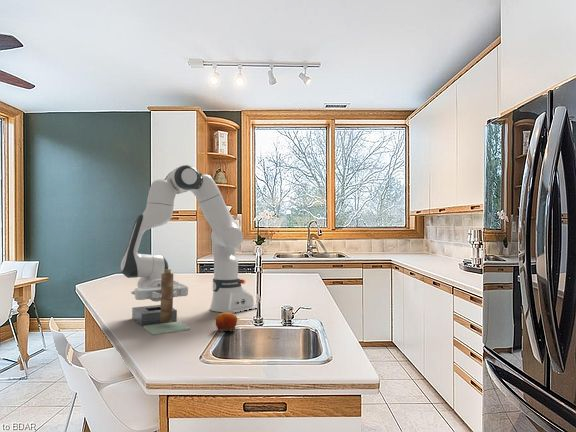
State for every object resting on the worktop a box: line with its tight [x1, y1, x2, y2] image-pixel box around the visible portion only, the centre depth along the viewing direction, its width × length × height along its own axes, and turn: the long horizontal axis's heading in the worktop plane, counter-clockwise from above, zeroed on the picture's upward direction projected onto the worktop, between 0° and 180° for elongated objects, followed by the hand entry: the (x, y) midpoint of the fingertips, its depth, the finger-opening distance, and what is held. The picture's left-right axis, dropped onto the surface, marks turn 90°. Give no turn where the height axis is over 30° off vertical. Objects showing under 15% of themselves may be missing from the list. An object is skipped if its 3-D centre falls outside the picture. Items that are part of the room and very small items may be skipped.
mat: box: [143, 321, 191, 336], centre depth 161 cm, size 14×12×1 cm
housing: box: [131, 304, 178, 327], centre depth 174 cm, size 14×14×4 cm
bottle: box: [160, 268, 174, 324], centre depth 161 cm, size 4×4×20 cm
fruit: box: [215, 312, 238, 333], centre depth 159 cm, size 8×8×8 cm
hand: (167, 295), depth 160 cm, fingers closed on bottle, 4 cm apart
